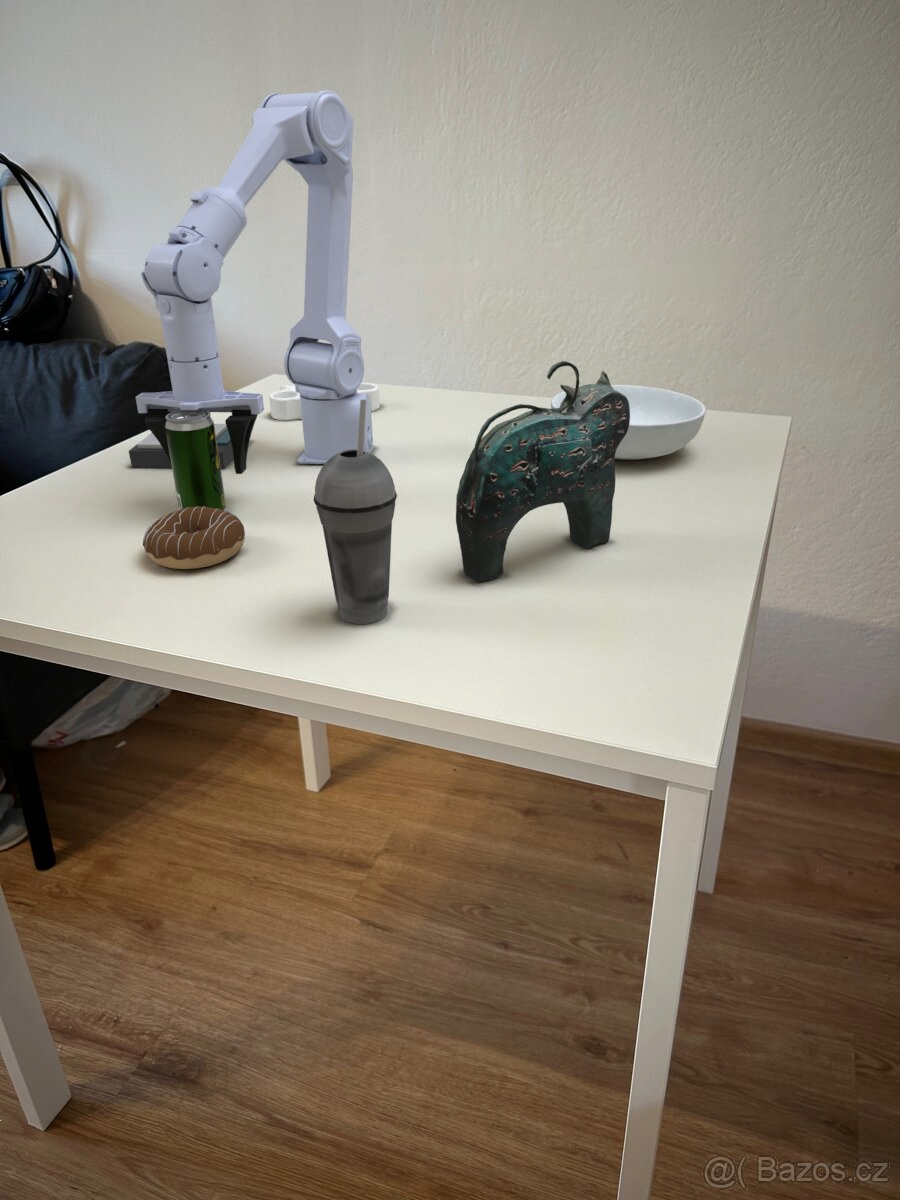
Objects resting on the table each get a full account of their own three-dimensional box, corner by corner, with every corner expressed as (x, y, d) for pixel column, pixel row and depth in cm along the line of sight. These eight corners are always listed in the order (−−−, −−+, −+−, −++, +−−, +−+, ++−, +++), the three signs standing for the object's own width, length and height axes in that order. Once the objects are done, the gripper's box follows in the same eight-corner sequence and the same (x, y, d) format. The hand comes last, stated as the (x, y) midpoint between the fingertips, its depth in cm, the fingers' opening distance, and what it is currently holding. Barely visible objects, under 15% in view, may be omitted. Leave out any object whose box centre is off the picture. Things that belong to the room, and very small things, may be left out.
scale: (249, 441, 127) (246, 421, 126) (224, 469, 117) (221, 447, 115) (163, 440, 128) (160, 421, 127) (131, 467, 118) (127, 446, 116)
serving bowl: (693, 482, 110) (700, 430, 107) (533, 467, 116) (535, 416, 113) (704, 435, 127) (711, 389, 124) (565, 424, 133) (567, 379, 130)
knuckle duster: (364, 392, 151) (389, 414, 139) (262, 403, 146) (278, 426, 134) (363, 373, 150) (388, 393, 138) (260, 383, 144) (275, 405, 132)
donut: (268, 550, 93) (263, 516, 91) (184, 585, 86) (178, 548, 84) (208, 526, 99) (203, 493, 97) (126, 556, 92) (119, 522, 90)
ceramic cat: (592, 525, 98) (606, 346, 88) (633, 545, 93) (651, 357, 84) (447, 569, 88) (444, 373, 79) (484, 593, 83) (486, 388, 74)
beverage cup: (325, 596, 83) (307, 390, 74) (400, 592, 84) (391, 387, 75) (322, 633, 77) (301, 414, 68) (403, 629, 78) (394, 410, 68)
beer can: (189, 526, 99) (171, 424, 93) (174, 512, 103) (157, 413, 97) (233, 516, 102) (219, 416, 96) (217, 502, 106) (203, 406, 100)
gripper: (117, 364, 95) (139, 481, 101) (245, 365, 94) (259, 483, 100) (142, 350, 101) (161, 461, 108) (263, 351, 100) (275, 463, 106)
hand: (210, 470), depth 104 cm, fingers open, 7 cm apart
